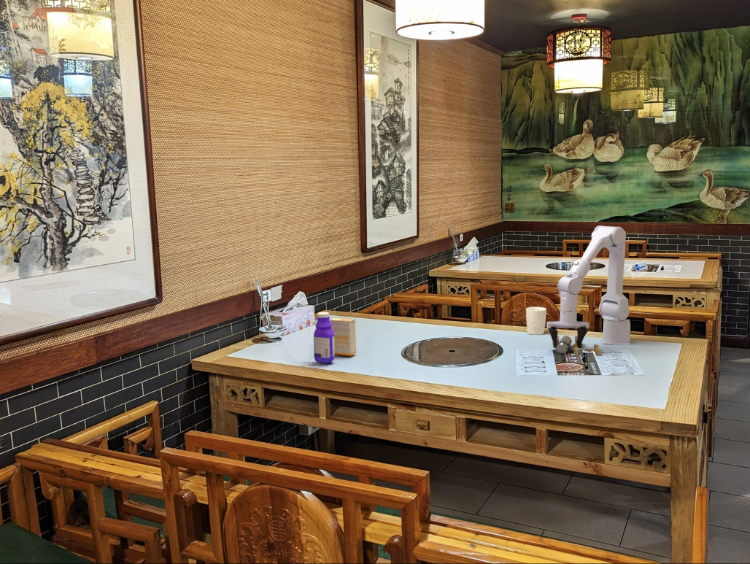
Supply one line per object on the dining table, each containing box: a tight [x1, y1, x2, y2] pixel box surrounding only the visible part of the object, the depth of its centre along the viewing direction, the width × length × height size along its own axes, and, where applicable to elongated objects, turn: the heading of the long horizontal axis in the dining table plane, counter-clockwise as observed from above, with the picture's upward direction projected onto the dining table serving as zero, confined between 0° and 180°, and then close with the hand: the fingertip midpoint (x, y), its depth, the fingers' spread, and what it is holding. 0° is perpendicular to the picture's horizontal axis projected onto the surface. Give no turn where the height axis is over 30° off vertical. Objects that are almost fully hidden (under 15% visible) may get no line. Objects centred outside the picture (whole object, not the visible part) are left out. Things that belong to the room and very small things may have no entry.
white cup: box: [525, 306, 547, 336], centre depth 270 cm, size 8×8×10 cm
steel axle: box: [555, 335, 573, 354], centre depth 243 cm, size 12×4×4 cm
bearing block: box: [552, 334, 583, 349], centre depth 249 cm, size 10×7×3 cm
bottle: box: [313, 311, 336, 364], centre depth 235 cm, size 7×6×17 cm
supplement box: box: [330, 316, 357, 357], centre depth 245 cm, size 8×5×13 cm, turn 65°
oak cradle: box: [572, 343, 601, 357], centre depth 238 cm, size 9×9×3 cm
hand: (566, 347), depth 240 cm, fingers open, 7 cm apart
